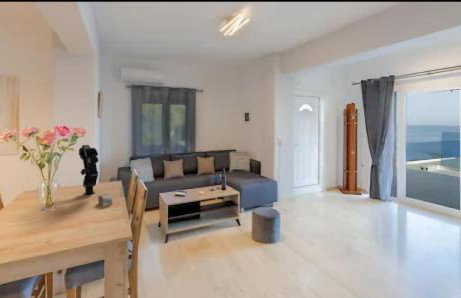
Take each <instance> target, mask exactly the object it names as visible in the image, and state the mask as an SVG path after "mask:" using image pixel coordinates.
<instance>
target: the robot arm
mask: <svg viewBox="0 0 461 298" xmlns="http://www.w3.org/2000/svg"><path fill="white" fill-rule="evenodd" d="M78 156H79V158H80V159H81V160H82V163H83V168H82V169H81V171H80V174H81V176H83V177H84V178H83V181H82V187H83V188H84V189H85V190H84V191H85V192H83V194H85V195H87V196H88V195H93V194H95V193H96V192H95V191H94V187H95V186H96V185H97V180H98V177H99V172H98V169H97V163H98V162H99V158H98V156H99V153H98V150H97V149H96V147H91V146H90V145H89V144H82V145H81V147H80V148H79V149H78Z"/></svg>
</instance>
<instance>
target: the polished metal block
mask: <svg viewBox="0 0 461 298" xmlns="http://www.w3.org/2000/svg"><path fill="white" fill-rule="evenodd" d="M97 197H98V198H97V200H98V204H99V205H101V206H103V207H105V206H106V207H107V206H110V205H112V204H113V195H111V194H109V193H105V194H98V195H97Z"/></svg>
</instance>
